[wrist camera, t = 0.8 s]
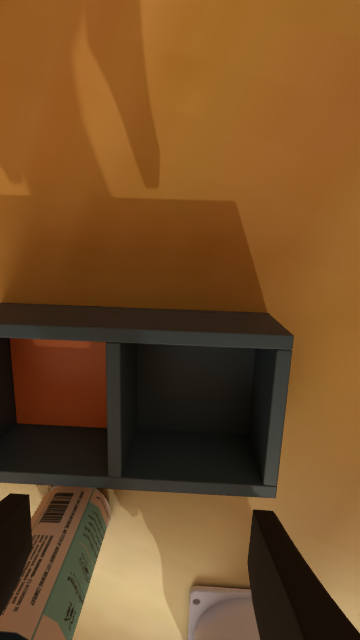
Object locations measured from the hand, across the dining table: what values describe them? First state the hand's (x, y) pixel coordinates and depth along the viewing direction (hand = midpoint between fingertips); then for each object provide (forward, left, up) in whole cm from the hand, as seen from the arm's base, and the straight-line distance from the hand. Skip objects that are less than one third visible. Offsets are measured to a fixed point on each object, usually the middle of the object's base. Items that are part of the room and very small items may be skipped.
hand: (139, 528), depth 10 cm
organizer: (+1, +2, -10) cm, 11 cm away
